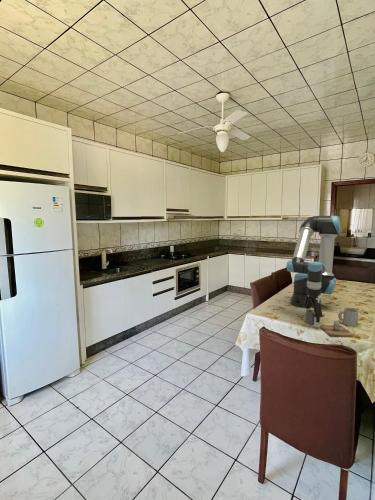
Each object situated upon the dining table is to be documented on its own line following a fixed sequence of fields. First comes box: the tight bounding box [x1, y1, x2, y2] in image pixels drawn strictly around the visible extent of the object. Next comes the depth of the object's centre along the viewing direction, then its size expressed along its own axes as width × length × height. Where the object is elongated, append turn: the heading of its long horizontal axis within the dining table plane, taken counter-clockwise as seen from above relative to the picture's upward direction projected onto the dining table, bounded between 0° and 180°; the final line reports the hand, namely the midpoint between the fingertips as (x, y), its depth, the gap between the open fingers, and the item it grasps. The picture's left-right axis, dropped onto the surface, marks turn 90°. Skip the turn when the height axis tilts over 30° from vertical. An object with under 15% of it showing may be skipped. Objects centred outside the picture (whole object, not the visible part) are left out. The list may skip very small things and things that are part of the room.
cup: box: [337, 307, 359, 328], centre depth 154 cm, size 7×10×9 cm
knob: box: [304, 309, 315, 326], centre depth 156 cm, size 7×7×8 cm
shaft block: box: [319, 319, 354, 338], centre depth 144 cm, size 12×12×6 cm
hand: (311, 322), depth 156 cm, fingers open, 12 cm apart
